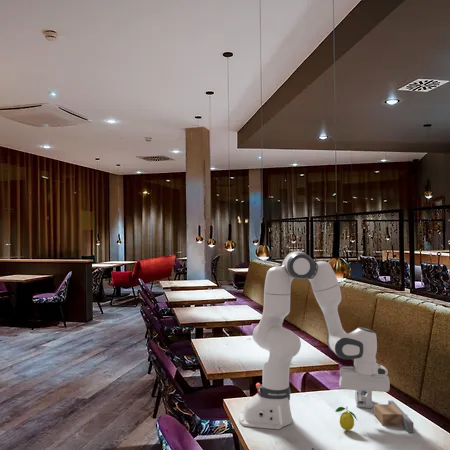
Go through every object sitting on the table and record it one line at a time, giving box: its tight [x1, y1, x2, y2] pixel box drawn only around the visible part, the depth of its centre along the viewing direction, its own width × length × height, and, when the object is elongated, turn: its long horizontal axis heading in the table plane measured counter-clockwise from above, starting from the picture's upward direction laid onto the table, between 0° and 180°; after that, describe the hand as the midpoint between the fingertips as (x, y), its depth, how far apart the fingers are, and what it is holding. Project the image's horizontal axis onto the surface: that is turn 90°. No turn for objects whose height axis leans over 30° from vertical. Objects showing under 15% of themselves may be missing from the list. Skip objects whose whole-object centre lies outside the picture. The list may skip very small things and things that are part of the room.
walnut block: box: [373, 403, 403, 427], centre depth 185 cm, size 8×10×5 cm
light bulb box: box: [354, 390, 373, 409], centre depth 203 cm, size 11×7×11 cm, turn 168°
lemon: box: [334, 406, 358, 432], centre depth 176 cm, size 7×6×10 cm
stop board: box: [387, 400, 414, 434], centre depth 185 cm, size 2×22×4 cm, turn 179°
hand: (363, 400), depth 185 cm, fingers closed
